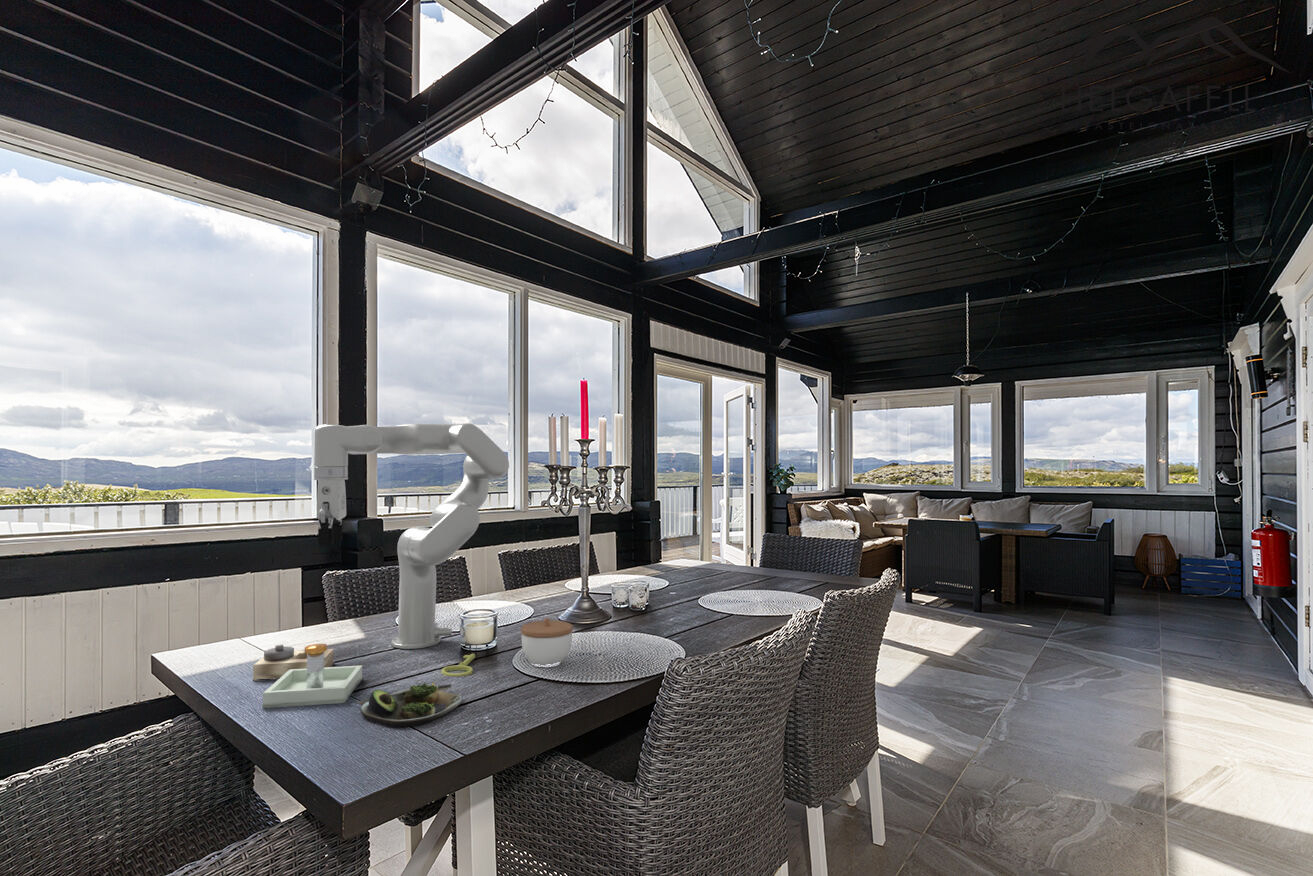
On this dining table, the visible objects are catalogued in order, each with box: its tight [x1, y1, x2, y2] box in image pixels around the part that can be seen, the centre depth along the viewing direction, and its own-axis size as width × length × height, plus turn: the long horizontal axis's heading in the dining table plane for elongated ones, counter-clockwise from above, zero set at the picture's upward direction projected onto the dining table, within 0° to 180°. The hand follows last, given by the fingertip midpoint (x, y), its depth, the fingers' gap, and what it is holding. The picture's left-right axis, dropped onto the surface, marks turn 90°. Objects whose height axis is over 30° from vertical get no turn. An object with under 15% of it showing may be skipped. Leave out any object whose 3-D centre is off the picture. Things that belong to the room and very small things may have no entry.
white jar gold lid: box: [304, 643, 328, 689], centre depth 134 cm, size 4×4×9 cm
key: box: [440, 653, 476, 677], centre depth 151 cm, size 7×12×2 cm, turn 13°
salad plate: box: [357, 682, 463, 728], centre depth 127 cm, size 19×18×5 cm
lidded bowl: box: [520, 617, 573, 665], centre depth 155 cm, size 13×13×11 cm
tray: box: [262, 665, 363, 709], centre depth 134 cm, size 15×15×3 cm
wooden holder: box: [252, 644, 335, 681], centre depth 148 cm, size 14×10×6 cm
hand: (330, 542), depth 157 cm, fingers open, 9 cm apart
